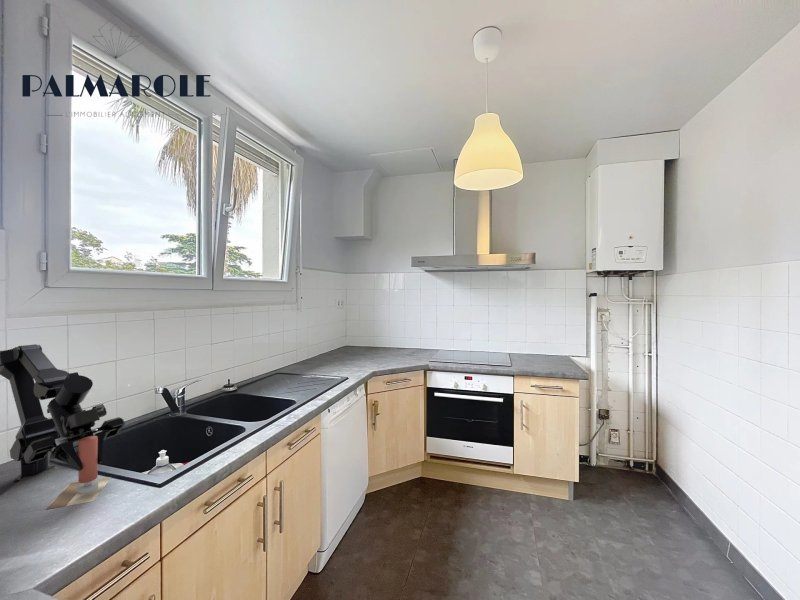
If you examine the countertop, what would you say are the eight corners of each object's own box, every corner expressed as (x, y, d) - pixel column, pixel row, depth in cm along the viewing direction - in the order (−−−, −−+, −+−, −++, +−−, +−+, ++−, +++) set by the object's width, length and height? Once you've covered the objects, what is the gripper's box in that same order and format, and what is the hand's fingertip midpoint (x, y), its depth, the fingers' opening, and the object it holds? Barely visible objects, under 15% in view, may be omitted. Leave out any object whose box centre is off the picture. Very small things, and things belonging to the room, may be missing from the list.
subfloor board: (69, 487, 92) (69, 483, 92) (111, 481, 95) (111, 476, 95) (44, 514, 81) (44, 509, 81) (93, 505, 84) (93, 500, 84)
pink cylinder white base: (81, 487, 87) (81, 436, 87) (101, 484, 89) (101, 434, 89) (73, 496, 84) (74, 443, 84) (94, 492, 85) (94, 440, 85)
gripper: (29, 408, 79) (53, 465, 75) (121, 388, 96) (145, 434, 92) (13, 435, 82) (35, 491, 78) (105, 411, 99) (127, 456, 95)
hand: (91, 466), depth 86 cm, fingers closed on pink cylinder white base, 4 cm apart
